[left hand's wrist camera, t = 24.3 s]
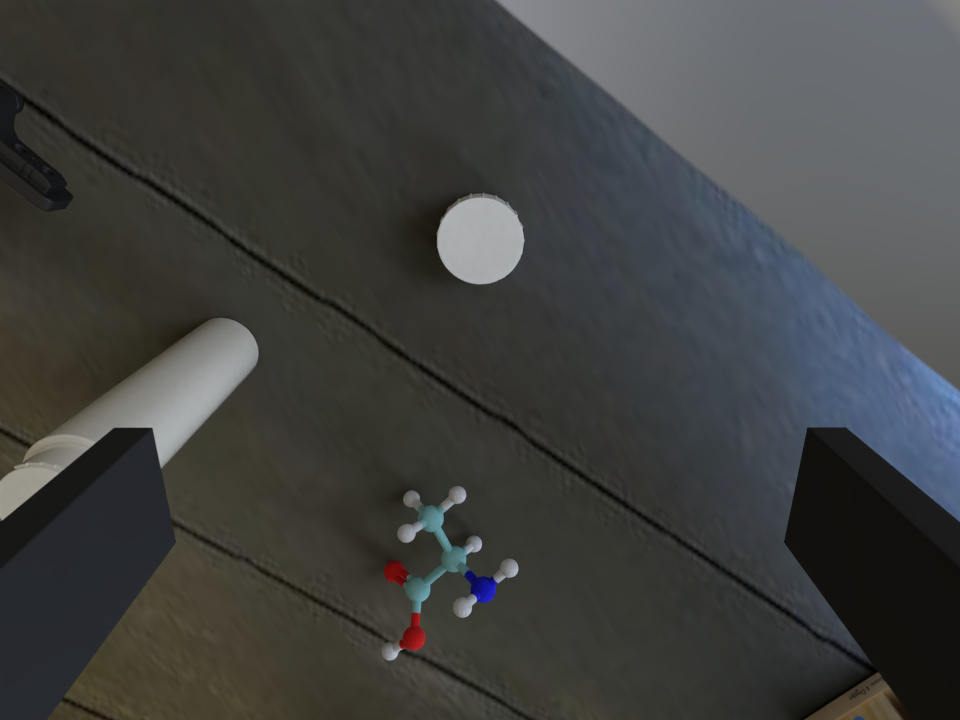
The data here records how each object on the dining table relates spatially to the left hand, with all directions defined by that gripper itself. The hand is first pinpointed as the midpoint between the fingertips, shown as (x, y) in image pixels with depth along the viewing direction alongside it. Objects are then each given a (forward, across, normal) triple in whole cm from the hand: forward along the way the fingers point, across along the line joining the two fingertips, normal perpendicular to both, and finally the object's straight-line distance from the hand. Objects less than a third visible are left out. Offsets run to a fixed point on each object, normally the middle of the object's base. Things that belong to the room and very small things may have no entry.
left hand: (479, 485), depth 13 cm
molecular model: (+29, +3, +23) cm, 37 cm away
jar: (+29, +18, +8) cm, 35 cm away
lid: (+28, 0, 0) cm, 28 cm away
